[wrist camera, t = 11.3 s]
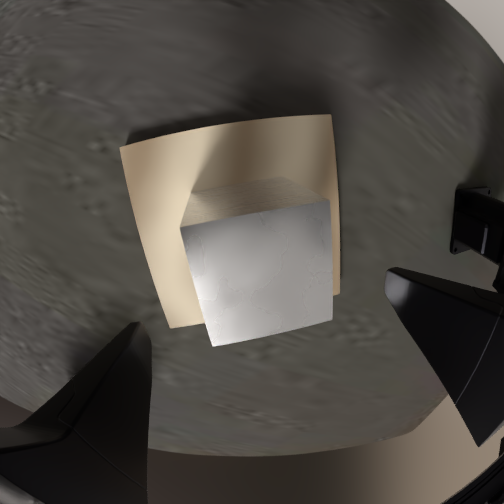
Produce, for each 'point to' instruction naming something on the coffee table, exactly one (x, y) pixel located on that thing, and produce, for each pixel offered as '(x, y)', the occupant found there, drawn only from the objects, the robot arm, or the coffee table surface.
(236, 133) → the post board
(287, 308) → the grey block
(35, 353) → the coffee table surface
